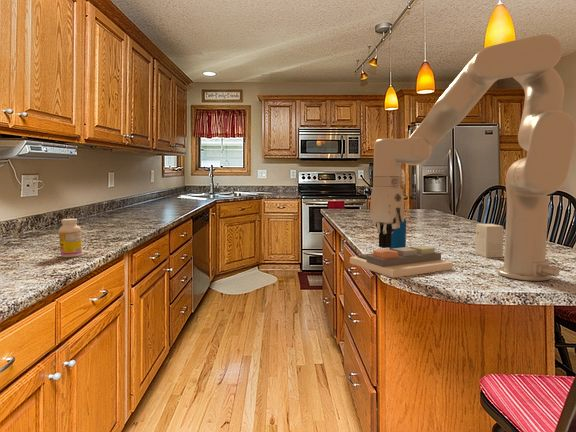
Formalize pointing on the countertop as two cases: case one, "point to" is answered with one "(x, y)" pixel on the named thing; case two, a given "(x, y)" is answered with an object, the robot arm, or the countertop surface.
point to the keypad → (402, 264)
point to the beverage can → (399, 236)
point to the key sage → (423, 249)
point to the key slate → (405, 251)
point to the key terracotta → (385, 254)
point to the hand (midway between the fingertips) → (384, 247)
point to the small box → (489, 240)
